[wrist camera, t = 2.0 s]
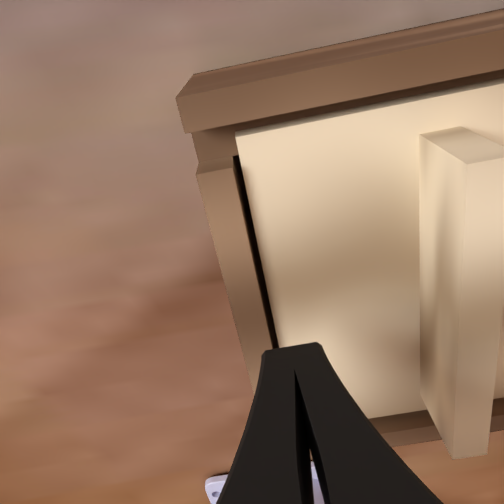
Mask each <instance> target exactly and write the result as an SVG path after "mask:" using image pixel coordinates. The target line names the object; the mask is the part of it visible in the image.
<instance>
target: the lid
mask: <svg viewBox="0 0 504 504" xmlns="http://www.w3.org/2000/svg"><path fill="white" fill-rule="evenodd" d="M235 138H236V143H237V148H238V153H239V157H240V162H241V167H242V172H243V177H244V181H245V186H246V191H247V196H248V200H249V205H250V210H251V215H252V220H253V224H254V229H255V234H256V239H257V244H258V248H259V253H260V258H261V263H262V267H263V272H264V277H265V282H266V287H267V291H268V296H269V301H270V306H271V310H272V315H273V320H274V325H275V330H276V334H277V339H278V344H279V348H282V347H288V346H294V345H300V344H306V343H312V342H318V343H319V344H321V345H322V347H323V349H324V352H325V354H326V356H327V358H328V360H329V362H330V363H331V365H332V367H333V369H334V370H335V372H336V374H337V375H338V377H339V378H340V380H341V382H342V383H343V385H344V386H345V388H346V389H347V391H348V392H349V394H350V395H351V396H352V398H353V399H354V400H355V402H356V403H357V405H358V406H359V407H360V409H361V410H362V411H363V413H364V414H365V416H366V417H367V418H368V419H370V418H376V417H383V416H389V415H395V414H402V413H408V412H414V411H421V410H427V409H428V411H429V413H430V416H431V418H432V420H433V422H434V424H435V426H436V428H437V430H438V432H439V434H440V436H441V438H442V440H443V442H444V444H445V446H446V448H447V450H448V452H449V454H450V456H451V458H452V460H454V459H460V458H467V457H474V456H480V455H487V450H488V441H489V432H490V423H491V414H492V405H493V399H497V398H503V397H504V78H499V79H494V80H489V81H484V82H479V83H474V84H469V85H464V86H459V87H454V88H449V89H444V90H439V91H434V92H429V93H424V94H419V95H415V96H410V97H405V98H400V99H395V100H390V101H385V102H380V103H375V104H370V105H365V106H360V107H355V108H350V109H345V110H340V111H335V112H330V113H326V114H321V115H316V116H311V117H306V118H301V119H296V120H291V121H286V122H281V123H276V124H271V125H266V126H261V127H256V128H251V129H246V130H241V131H236V132H235Z"/></svg>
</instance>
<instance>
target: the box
mask: <svg viewBox="0 0 504 504" xmlns="http://www.w3.org/2000/svg"><path fill="white" fill-rule="evenodd" d="M499 78H504V9H499V10H494V11H490V12H485V13H480V14H475V15H471V16H466V17H461V18H457V19H452V20H447V21H442V22H438V23H433V24H428V25H424V26H419V27H414V28H409V29H405V30H400V31H395V32H390V33H386V34H381V35H376V36H372V37H367V38H362V39H357V40H353V41H348V42H343V43H338V44H334V45H329V46H324V47H320V48H315V49H310V50H305V51H301V52H296V53H291V54H287V55H282V56H277V57H272V58H268V59H263V60H258V61H253V62H249V63H244V64H239V65H235V66H230V67H225V68H220V69H216V70H211V71H206V72H202V73H197V74H193V76H192V77H191V78H190V80H189V81H188V82H187V84H186V85H185V86H184V87H183V89H182V90H181V91H180V93H179V94H178V95H177V97H176V102H177V106H178V109H179V113H180V117H181V121H182V124H183V128H184V132H185V134H186V133H191V134H192V138H193V142H194V145H195V149H196V153H197V157H198V161H199V164H198V168H197V172H196V177H197V181H198V185H199V189H200V193H201V196H202V200H203V204H204V208H205V212H206V215H207V219H208V223H209V227H210V230H211V234H212V238H213V242H214V246H215V249H216V253H217V257H218V261H219V265H220V268H221V272H222V276H223V280H224V283H225V287H226V291H227V295H228V299H229V302H230V306H231V310H232V314H233V318H234V321H235V325H236V329H237V333H238V336H239V340H240V344H241V348H242V352H243V355H244V359H245V363H246V367H247V371H248V374H249V378H250V382H251V386H252V389H253V393H254V395H255V391H256V387H257V382H258V378H259V372H260V366H261V356H262V354H263V353H264V351H265V350H270V349H276V348H279V344H278V339H277V334H276V330H275V325H274V320H273V315H272V310H271V306H270V301H269V296H268V291H267V287H266V282H265V277H264V272H263V267H262V263H261V258H260V253H259V248H258V244H257V239H256V234H255V229H254V224H253V220H252V215H251V210H250V205H249V200H248V196H247V191H246V186H245V181H244V177H243V172H242V167H241V162H240V157H239V153H238V148H237V143H236V138H235V132H236V131H241V130H246V129H251V128H256V127H261V126H266V125H271V124H276V123H281V122H286V121H291V120H296V119H301V118H306V117H311V116H316V115H321V114H326V113H330V112H335V111H340V110H345V109H350V108H355V107H360V106H365V105H370V104H375V103H380V102H385V101H390V100H395V99H400V98H405V97H410V96H415V95H419V94H424V93H429V92H434V91H439V90H444V89H449V88H454V87H459V86H464V85H469V84H474V83H479V82H484V81H489V80H494V79H499ZM369 421H370V422H371V423H372V425H373V426H374V427H375V428H376V430H377V431H378V432H379V433H380V434H381V436H382V437H383V438H384V439H385V441H386V442H387V443H388V444H389V445H390V447H396V446H403V445H409V444H416V443H422V442H429V441H435V440H442V438H441V436H440V434H439V432H438V430H437V428H436V426H435V424H434V422H433V420H432V418H431V416H430V413H429V411H428V409H427V410H421V411H414V412H408V413H402V414H395V415H389V416H383V417H376V418H370V419H369ZM501 430H504V397H503V398H497V399H493V405H492V414H491V423H490V432H494V431H501ZM310 457H311V459H312V455H311V451H310Z"/></svg>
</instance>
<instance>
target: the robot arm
mask: <svg viewBox="0 0 504 504" xmlns="http://www.w3.org/2000/svg"><path fill="white" fill-rule="evenodd" d="M310 451H311V455H312V459H313V461H312V462H311V457H310ZM205 490H206V492H207V495H208V497H209V500H210V502H211V504H443V503H442V502H441V501H440V500H439V499H438V498H437V497H436V496H435V495H434V494H433V493H432V492H431V490H430V489H429V488H428V487H427V486H426V485H425V484H424V483H423V482H422V481H421V480H420V479H419V478H418V477H417V476H416V475H415V474H414V473H413V471H412V470H411V469H410V468H409V467H408V466H407V465H406V464H405V463H404V462H403V460H402V459H401V458H400V457H399V456H398V455H397V454H396V452H395V451H394V450H393V449H392V448H391V447H390V445H389V444H388V443H387V442H386V441H385V439H384V438H383V437H382V436H381V434H380V433H379V432H378V431H377V430H376V428H375V427H374V426H373V425H372V423H371V422H370V421H369V419H368V418H367V417H366V416H365V414H364V413H363V411H362V410H361V409H360V407H359V406H358V405H357V403H356V402H355V400H354V399H353V398H352V396H351V395H350V394H349V392H348V391H347V389H346V388H345V386H344V385H343V383H342V382H341V380H340V378H339V377H338V375H337V374H336V372H335V370H334V369H333V367H332V365H331V363H330V362H329V360H328V358H327V356H326V354H325V352H324V349H323V347H322V345H321V344H319V343H318V342H312V343H306V344H300V345H294V346H288V347H282V348H276V349H270V350H265V351H264V353H263V354H262V356H261V366H260V372H259V378H258V382H257V387H256V391H255V395H254V399H253V403H252V406H251V410H250V413H249V416H248V420H247V423H246V427H245V430H244V433H243V436H242V439H241V441H240V444H239V447H238V450H237V452H236V455H235V458H234V461H233V464H232V466H231V469H230V471H229V474H227V475H220V476H214V477H210V478H208V479H207V480H206V482H205Z"/></svg>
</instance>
